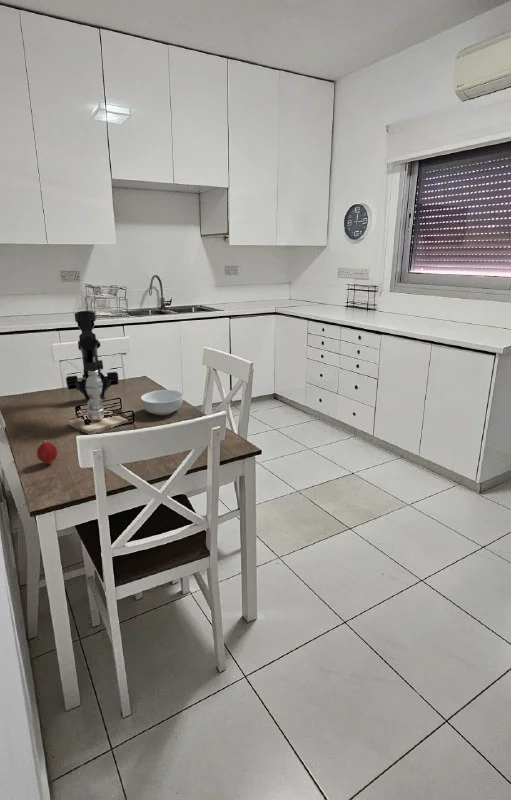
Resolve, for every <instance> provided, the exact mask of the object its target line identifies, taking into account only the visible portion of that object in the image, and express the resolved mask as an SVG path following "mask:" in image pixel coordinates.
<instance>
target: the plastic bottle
mask: <svg viewBox="0 0 511 800" xmlns="http://www.w3.org/2000/svg"><path fill="white" fill-rule="evenodd" d="M88 375H89V377H88V378H87V380H86V381H85V387H86V388H85V389H86V392H87V397H88V401H87V409H86V416H87V417H88V419H89V420H91V421H99V420H102V419H103V417H104V411H105V409H104V404H103V399H102V388H103V382H102V380H101V379H100V377H99V376H98V375H99V373H98V370H95V371H89V370H88Z"/></svg>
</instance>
